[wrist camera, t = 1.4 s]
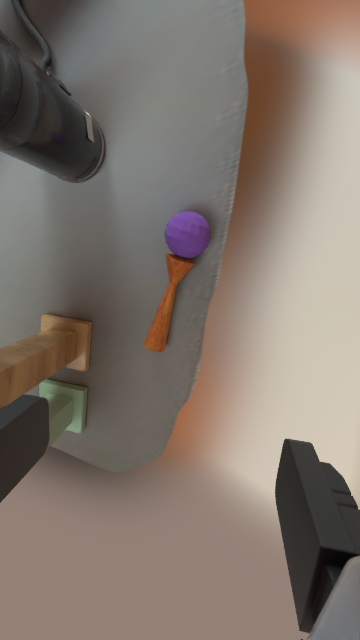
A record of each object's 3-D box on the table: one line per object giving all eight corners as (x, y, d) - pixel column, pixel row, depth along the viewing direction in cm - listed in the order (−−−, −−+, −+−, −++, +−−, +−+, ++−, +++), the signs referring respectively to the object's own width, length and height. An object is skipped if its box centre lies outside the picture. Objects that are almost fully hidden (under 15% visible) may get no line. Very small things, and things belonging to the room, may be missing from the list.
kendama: (127, 343, 44) (165, 202, 37) (146, 333, 49) (182, 208, 43) (163, 361, 42) (209, 216, 36) (178, 348, 48) (221, 220, 41)
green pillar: (38, 418, 54) (-129, 559, 29) (39, 377, 52) (-139, 490, 27) (90, 430, 53) (-38, 588, 28) (93, 388, 51) (-42, 518, 26)
